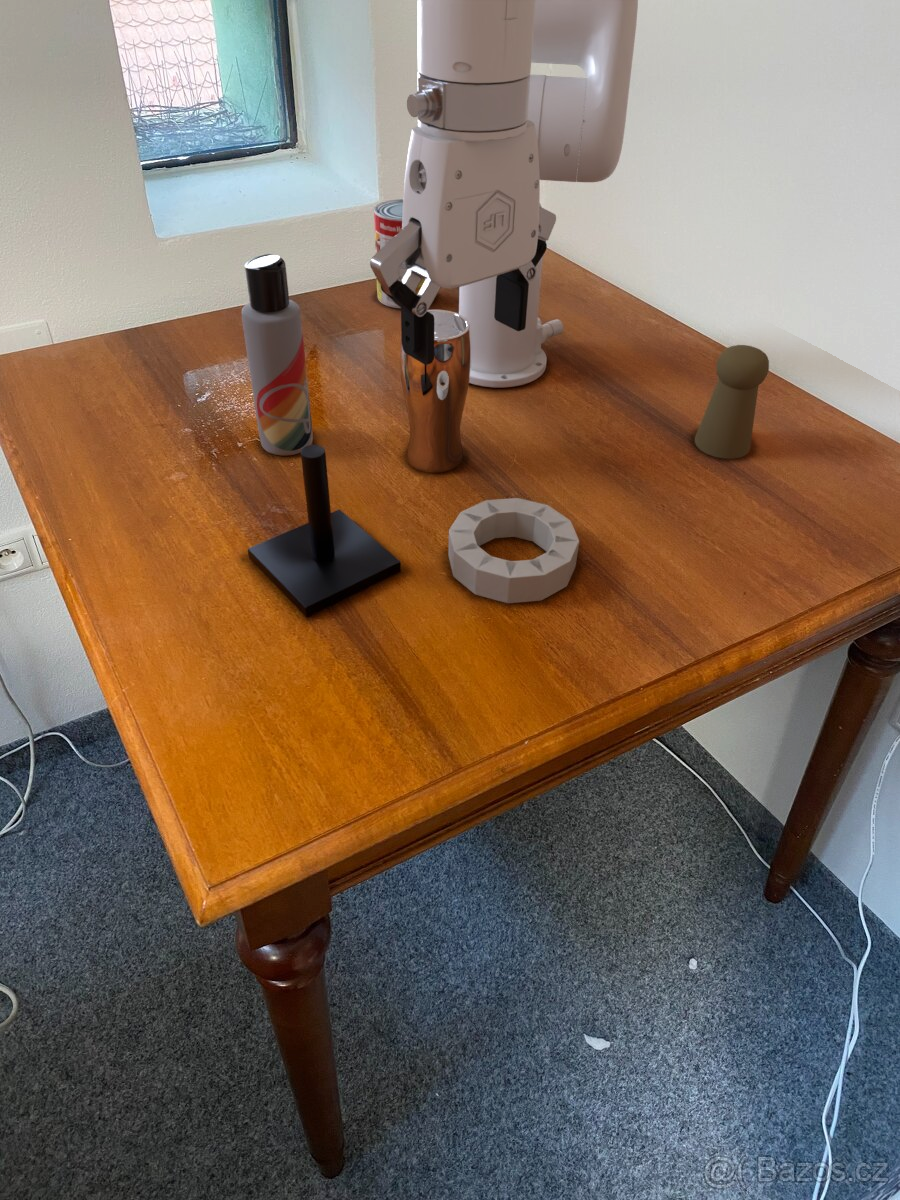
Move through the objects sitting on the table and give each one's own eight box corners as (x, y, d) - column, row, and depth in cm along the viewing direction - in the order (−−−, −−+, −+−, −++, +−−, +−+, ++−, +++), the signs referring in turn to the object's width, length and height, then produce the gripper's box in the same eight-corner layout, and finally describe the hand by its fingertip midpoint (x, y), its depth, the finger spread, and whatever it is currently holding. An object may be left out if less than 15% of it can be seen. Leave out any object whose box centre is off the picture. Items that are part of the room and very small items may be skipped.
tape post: (340, 518, 85) (330, 407, 77) (401, 571, 79) (398, 457, 71) (248, 558, 80) (228, 444, 72) (306, 617, 75) (291, 501, 67)
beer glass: (475, 447, 95) (481, 314, 85) (454, 481, 90) (458, 345, 80) (415, 434, 97) (414, 303, 87) (392, 468, 92) (388, 333, 82)
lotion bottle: (303, 460, 93) (283, 272, 79) (252, 453, 93) (223, 266, 80) (320, 432, 97) (303, 250, 83) (271, 426, 98) (246, 244, 84)
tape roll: (516, 509, 87) (518, 484, 85) (599, 568, 80) (603, 542, 78) (425, 553, 81) (425, 528, 79) (506, 620, 75) (508, 594, 73)
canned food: (435, 287, 127) (436, 200, 118) (429, 310, 121) (430, 220, 113) (381, 284, 127) (378, 197, 119) (373, 307, 121) (369, 217, 113)
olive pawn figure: (754, 437, 98) (781, 345, 90) (744, 464, 94) (771, 369, 86) (701, 424, 100) (723, 333, 92) (688, 450, 95) (710, 356, 88)
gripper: (405, 135, 53) (409, 390, 64) (600, 97, 62) (573, 329, 73) (335, 110, 57) (350, 354, 69) (527, 77, 66) (512, 299, 77)
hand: (465, 340), depth 71 cm, fingers open, 9 cm apart
